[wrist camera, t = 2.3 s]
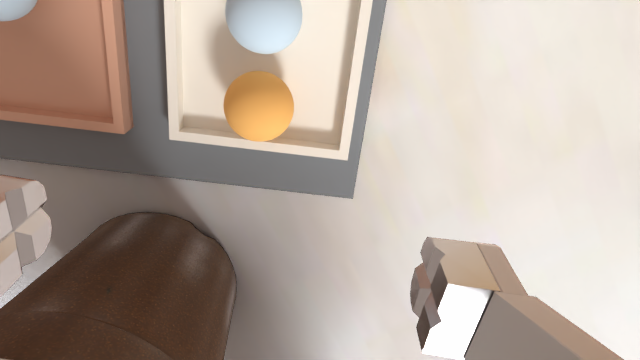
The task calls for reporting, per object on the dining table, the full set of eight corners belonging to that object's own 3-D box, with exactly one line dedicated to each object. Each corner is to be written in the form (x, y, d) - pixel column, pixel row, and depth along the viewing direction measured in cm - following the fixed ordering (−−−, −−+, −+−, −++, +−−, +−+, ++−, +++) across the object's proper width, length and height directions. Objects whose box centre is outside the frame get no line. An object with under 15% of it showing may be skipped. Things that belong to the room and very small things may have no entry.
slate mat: (352, 194, 30) (352, 198, 30) (-36, 150, 29) (-43, 153, 29) (403, -107, 22) (405, -109, 22) (-123, -179, 22) (-135, -182, 21)
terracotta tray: (133, 126, 28) (124, 134, 27) (-42, 106, 27) (-60, 112, 26) (118, -71, 23) (105, -74, 22) (-95, -99, 23) (-120, -103, 21)
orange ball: (293, 132, 27) (287, 156, 24) (230, 124, 27) (215, 147, 24) (299, 68, 25) (294, 84, 22) (232, 60, 25) (216, 75, 22)
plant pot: (15, 205, 31) (-257, 406, 17) (222, 160, 29) (115, 344, 15) (112, 360, 38) (-23, 598, 24) (285, 332, 36) (254, 573, 22)
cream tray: (346, 152, 28) (347, 160, 27) (176, 132, 28) (169, 139, 27) (376, -37, 23) (378, -38, 22) (170, -64, 23) (161, -67, 22)
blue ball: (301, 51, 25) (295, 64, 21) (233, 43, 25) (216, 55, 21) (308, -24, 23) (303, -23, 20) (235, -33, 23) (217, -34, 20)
